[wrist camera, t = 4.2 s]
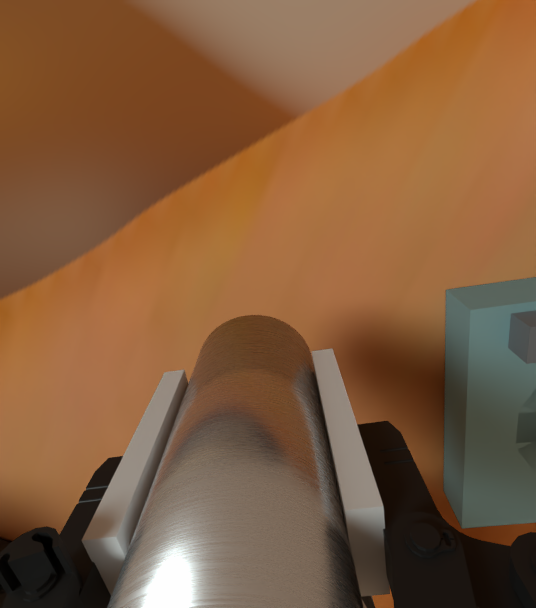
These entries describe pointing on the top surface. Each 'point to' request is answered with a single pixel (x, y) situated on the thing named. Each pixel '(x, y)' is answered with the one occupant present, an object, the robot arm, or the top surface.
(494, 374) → the jig
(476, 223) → the top surface
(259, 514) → the metal cylinder
